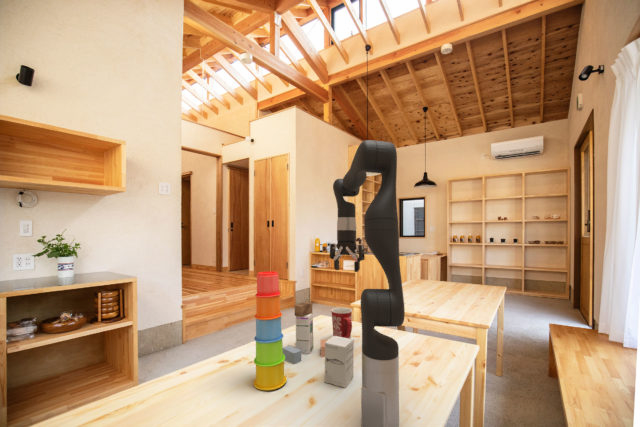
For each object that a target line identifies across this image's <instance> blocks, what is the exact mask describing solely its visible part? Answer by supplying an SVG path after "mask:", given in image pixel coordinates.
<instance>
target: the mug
mask: <svg viewBox="0 0 640 427" xmlns="http://www.w3.org/2000/svg"><path fill="white" fill-rule="evenodd" d="M352 313H353V310H352V309H351V308H348V307H335V308H331V322H332V324H331V325H332V335H333V336H339V337H344V338H349V339H352V331H353V330H352V329H353V323H352V322H353V321H352V316H353V314H352ZM333 336H332V337H333Z"/></svg>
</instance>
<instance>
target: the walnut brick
mask: <svg viewBox="0 0 640 427" xmlns="http://www.w3.org/2000/svg"><path fill="white" fill-rule="evenodd" d="M311 313H313V302H311V301H303V302H300V303H297V304H295V305H294V316H295V317H296V316H299V317H303V316H306V315H308V314H311Z"/></svg>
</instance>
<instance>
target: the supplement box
mask: <svg viewBox="0 0 640 427" xmlns="http://www.w3.org/2000/svg"><path fill="white" fill-rule="evenodd" d="M327 340H328V341H326V342H325V357H324V383H326V384H331V385H335V386H338V387H341V388H344V389H345V388H347V386H348V385H349V384H350V382H351V381H352V380H353V378H354V347H355V346H354V343H355V342H354V341H355V340H354V339H353V338H351V339H349V338H344V337H339V336H331V337H329V339H327Z"/></svg>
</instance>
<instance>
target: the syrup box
mask: <svg viewBox="0 0 640 427" xmlns="http://www.w3.org/2000/svg"><path fill="white" fill-rule="evenodd" d="M295 348H297V349H299V350H302V354H304V355H310V354H311V353H312V351H313V349H314V315H313V312H312V313H311V314H308V315H306V316H303V317H299V316H295Z"/></svg>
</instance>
